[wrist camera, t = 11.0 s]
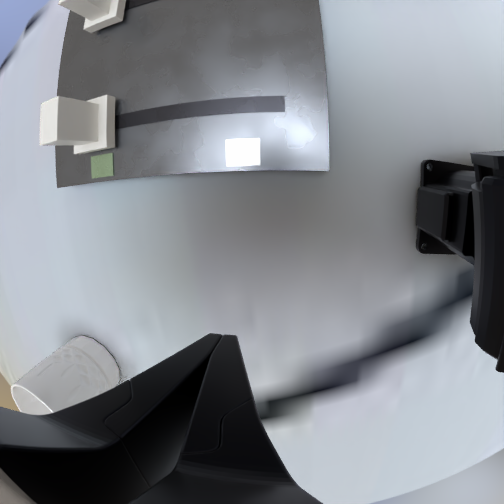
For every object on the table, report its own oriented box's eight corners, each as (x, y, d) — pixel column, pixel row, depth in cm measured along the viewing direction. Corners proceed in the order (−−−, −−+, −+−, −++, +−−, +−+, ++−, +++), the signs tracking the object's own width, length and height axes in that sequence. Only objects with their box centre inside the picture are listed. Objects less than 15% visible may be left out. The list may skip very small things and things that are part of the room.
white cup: (57, 328, 26) (-1, 377, 16) (107, 330, 24) (44, 393, 15) (85, 385, 28) (40, 438, 18) (136, 393, 27) (92, 460, 17)
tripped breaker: (115, 97, 16) (67, 84, 11) (115, 147, 17) (65, 146, 12) (83, 106, 16) (34, 99, 12) (82, 153, 17) (32, 156, 13)
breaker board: (308, -42, 13) (308, -56, 11) (325, 170, 18) (329, 171, 16) (85, 5, 16) (72, -2, 14) (72, 185, 21) (56, 188, 19)
